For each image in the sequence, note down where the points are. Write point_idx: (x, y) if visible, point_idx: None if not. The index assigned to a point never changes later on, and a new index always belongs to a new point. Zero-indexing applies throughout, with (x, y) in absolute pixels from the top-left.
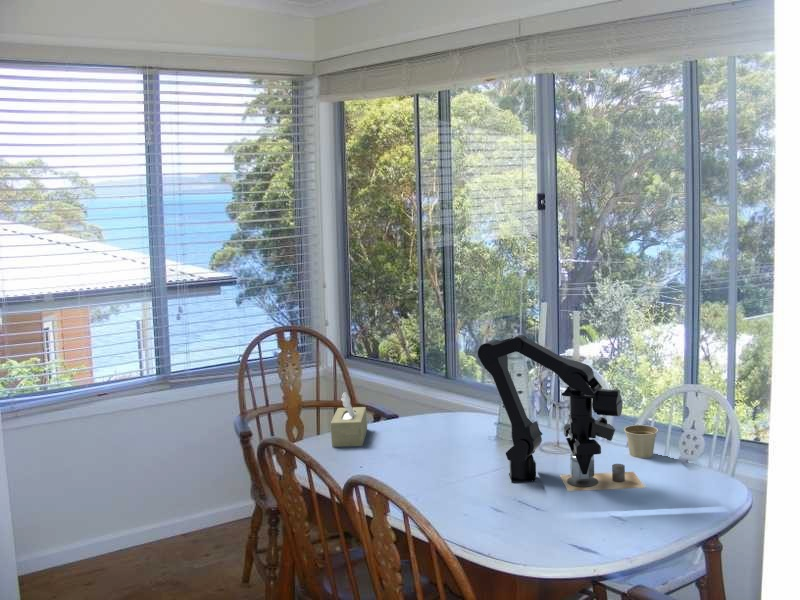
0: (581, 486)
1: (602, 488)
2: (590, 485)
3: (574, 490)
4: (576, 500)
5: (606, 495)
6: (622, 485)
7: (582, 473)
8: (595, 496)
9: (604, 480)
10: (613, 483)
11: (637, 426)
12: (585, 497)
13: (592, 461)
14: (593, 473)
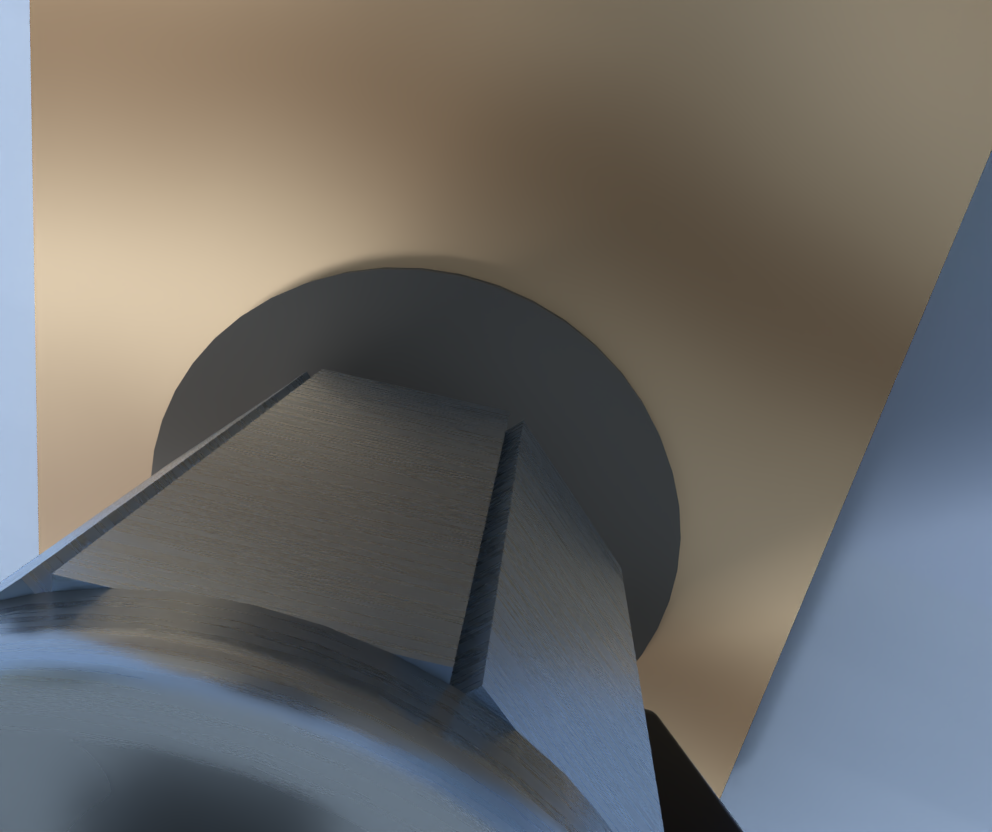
0: (637, 653)
1: (853, 361)
2: (673, 521)
3: (721, 781)
4: (895, 781)
5: (948, 328)
6: None
7: None
8: (895, 505)
9: (464, 124)
10: (700, 9)
11: None
12: (856, 644)
13: (543, 738)
14: (532, 467)
